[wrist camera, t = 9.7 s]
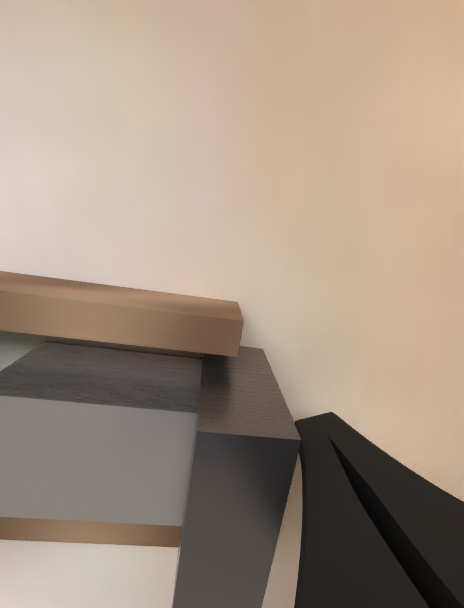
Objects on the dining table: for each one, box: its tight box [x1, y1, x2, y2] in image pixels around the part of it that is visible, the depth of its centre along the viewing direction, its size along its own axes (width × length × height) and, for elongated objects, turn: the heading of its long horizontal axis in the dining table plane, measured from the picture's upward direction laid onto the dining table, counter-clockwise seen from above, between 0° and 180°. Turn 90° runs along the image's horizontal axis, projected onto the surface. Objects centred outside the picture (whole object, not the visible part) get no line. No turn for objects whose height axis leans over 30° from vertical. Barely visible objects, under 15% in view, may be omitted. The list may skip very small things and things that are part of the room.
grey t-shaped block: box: [0, 342, 301, 608], centre depth 8 cm, size 7×5×4 cm, turn 81°
